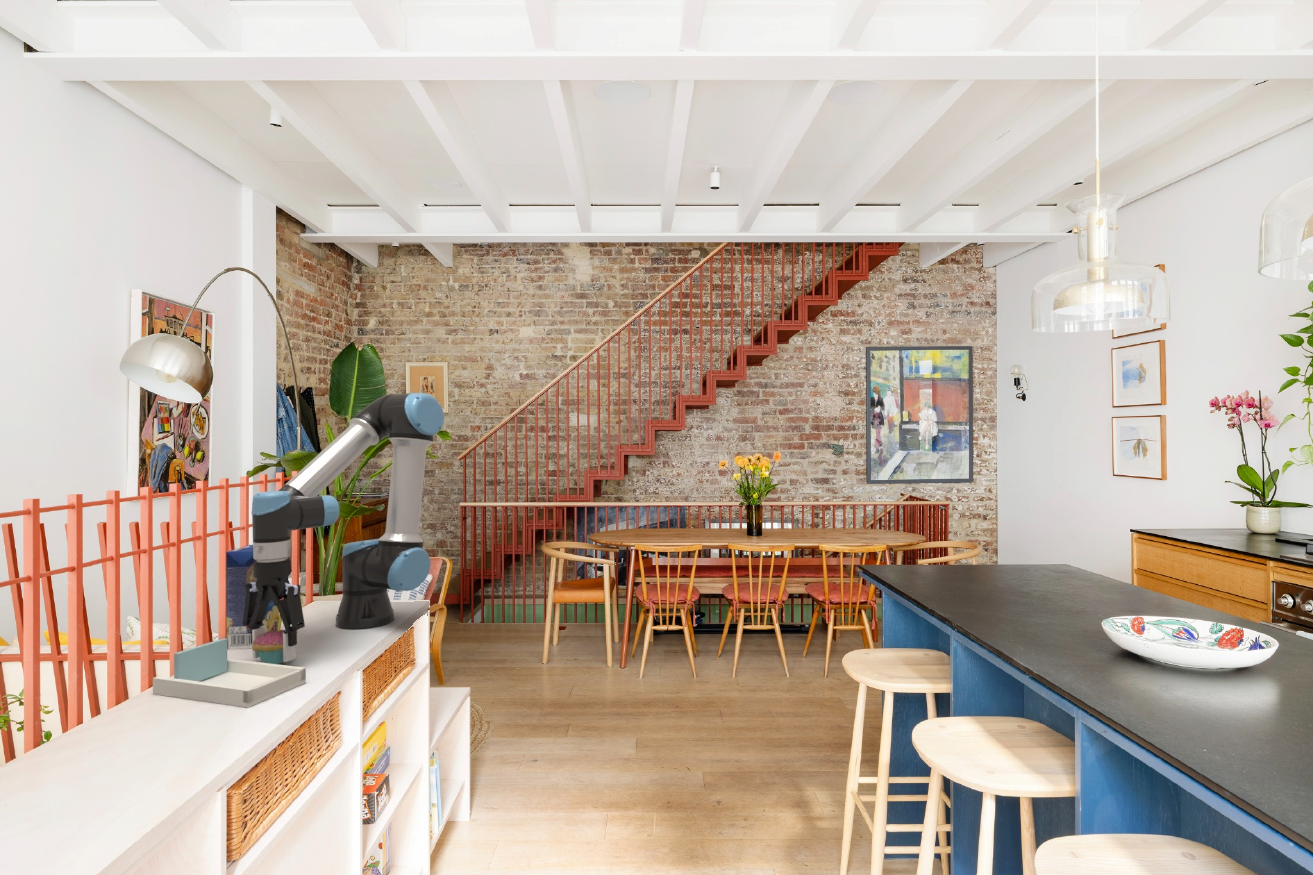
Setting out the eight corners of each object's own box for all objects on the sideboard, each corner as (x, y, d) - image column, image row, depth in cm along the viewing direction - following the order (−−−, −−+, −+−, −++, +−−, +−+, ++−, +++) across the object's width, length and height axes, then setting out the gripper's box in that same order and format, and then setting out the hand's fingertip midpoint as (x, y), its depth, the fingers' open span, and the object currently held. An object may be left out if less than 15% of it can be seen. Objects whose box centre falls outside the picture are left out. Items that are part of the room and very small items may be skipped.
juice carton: (258, 648, 169) (258, 551, 170) (226, 649, 169) (225, 552, 169) (279, 634, 181) (278, 544, 181) (249, 636, 180) (248, 544, 181)
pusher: (209, 669, 151) (209, 636, 151) (227, 671, 149) (227, 638, 149) (160, 686, 140) (160, 651, 141) (178, 689, 139) (178, 653, 139)
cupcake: (282, 653, 163) (281, 603, 163) (303, 659, 158) (302, 607, 158) (244, 664, 155) (243, 611, 155) (266, 670, 151) (265, 616, 151)
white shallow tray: (216, 671, 152) (215, 657, 152) (305, 682, 145) (305, 667, 145) (152, 693, 139) (152, 678, 139) (248, 707, 131) (247, 690, 131)
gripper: (222, 560, 156) (224, 659, 156) (295, 564, 150) (297, 667, 150) (250, 554, 163) (252, 649, 164) (321, 558, 157) (323, 657, 157)
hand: (274, 658), depth 157 cm, fingers closed on cupcake, 8 cm apart
